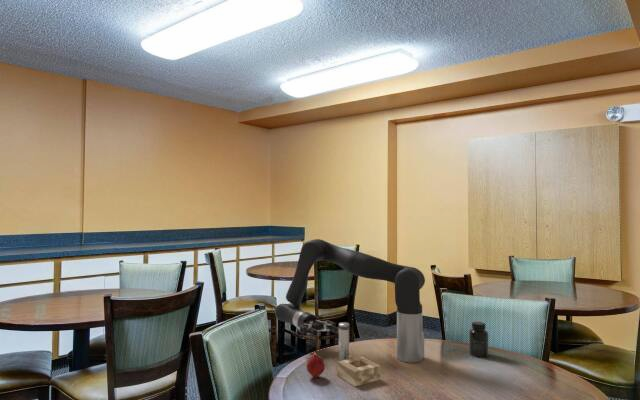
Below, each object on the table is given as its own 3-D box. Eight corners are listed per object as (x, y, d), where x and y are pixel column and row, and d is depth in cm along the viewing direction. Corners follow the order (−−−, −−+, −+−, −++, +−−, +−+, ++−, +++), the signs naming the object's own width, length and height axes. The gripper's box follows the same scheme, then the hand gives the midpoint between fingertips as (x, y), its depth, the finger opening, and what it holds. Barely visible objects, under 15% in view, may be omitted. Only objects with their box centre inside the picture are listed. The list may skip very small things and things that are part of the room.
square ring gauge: (361, 369, 142) (361, 356, 142) (380, 379, 134) (380, 365, 134) (337, 375, 137) (337, 361, 137) (354, 386, 128) (354, 371, 129)
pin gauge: (345, 364, 147) (345, 321, 147) (351, 368, 144) (351, 324, 144) (336, 366, 145) (336, 323, 146) (342, 370, 142) (342, 325, 142)
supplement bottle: (472, 350, 163) (472, 319, 163) (490, 354, 159) (490, 322, 159) (466, 355, 157) (466, 323, 158) (485, 359, 153) (485, 326, 154)
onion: (326, 375, 137) (326, 351, 137) (321, 382, 131) (321, 356, 132) (310, 373, 139) (310, 349, 139) (303, 379, 133) (304, 354, 134)
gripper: (289, 314, 165) (309, 324, 151) (320, 310, 172) (342, 319, 158) (289, 333, 165) (309, 344, 151) (320, 328, 172) (342, 339, 158)
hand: (326, 331), depth 154 cm, fingers open, 8 cm apart
